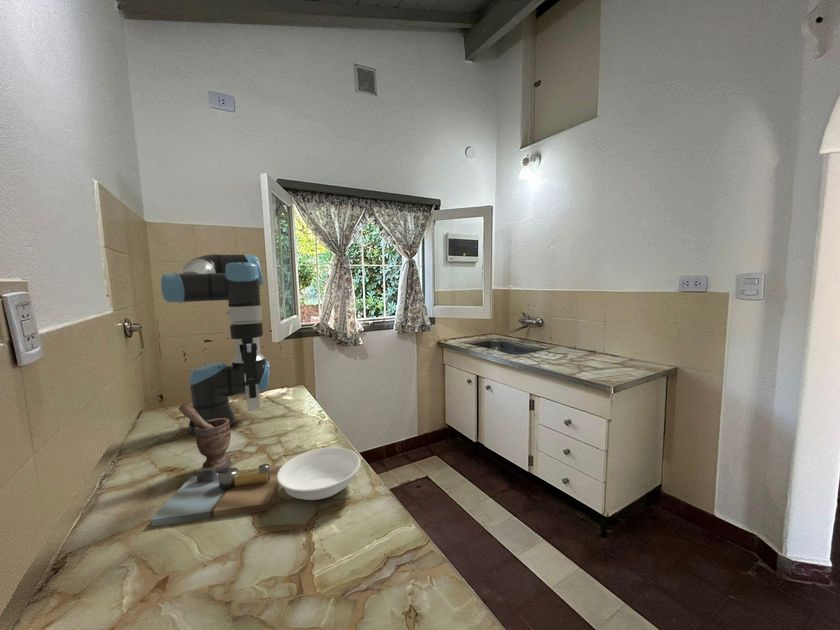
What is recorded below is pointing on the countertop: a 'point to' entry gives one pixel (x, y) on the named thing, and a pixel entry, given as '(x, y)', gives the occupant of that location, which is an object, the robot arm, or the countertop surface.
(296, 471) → the bowl
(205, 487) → the board
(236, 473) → the swing bar
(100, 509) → the countertop surface
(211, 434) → the mortar and pestle
